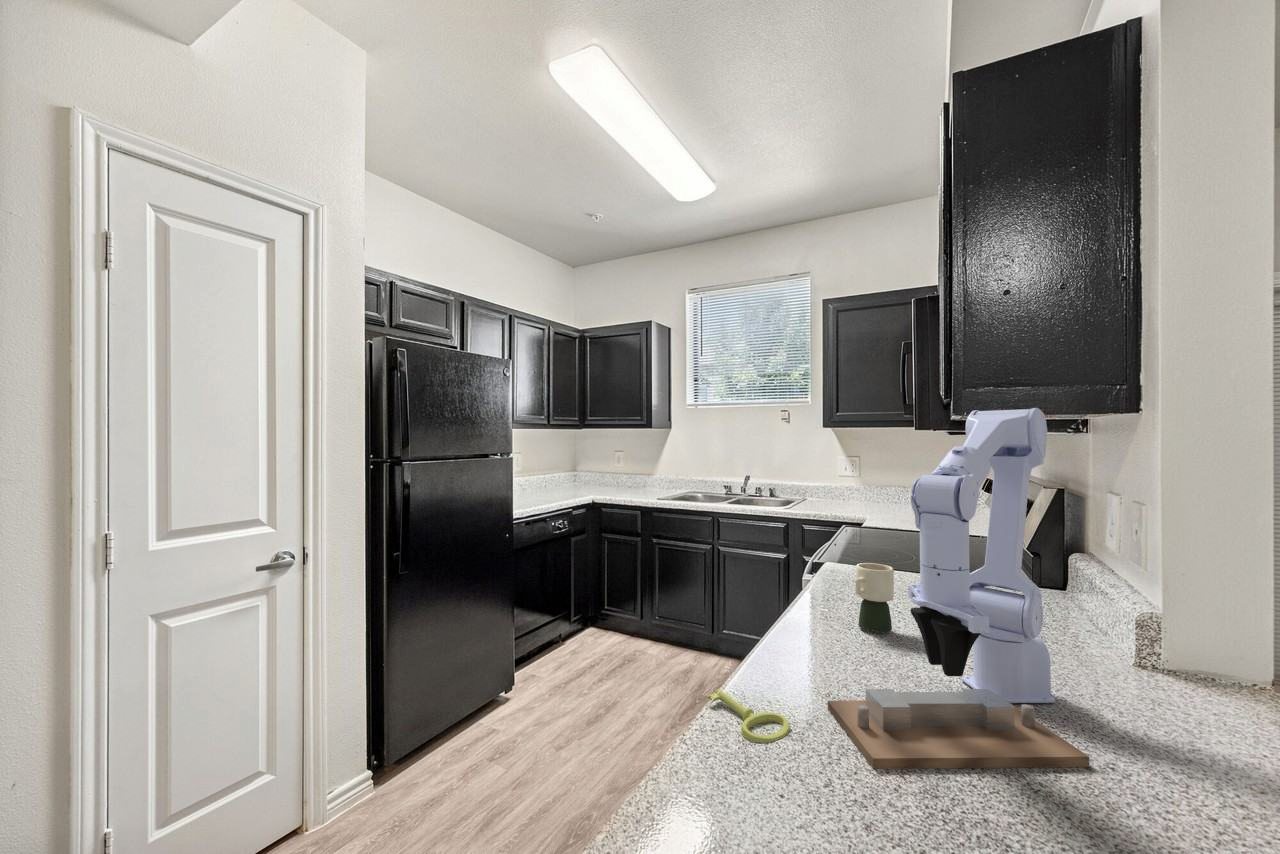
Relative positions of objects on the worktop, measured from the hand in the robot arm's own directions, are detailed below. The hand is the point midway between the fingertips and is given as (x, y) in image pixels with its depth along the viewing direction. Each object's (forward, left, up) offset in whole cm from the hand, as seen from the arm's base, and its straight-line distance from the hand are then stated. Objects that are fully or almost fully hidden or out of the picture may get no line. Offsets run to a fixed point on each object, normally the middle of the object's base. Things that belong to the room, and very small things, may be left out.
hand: (945, 669), depth 70 cm
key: (+25, -4, -9) cm, 27 cm away
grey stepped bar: (0, -1, -7) cm, 7 cm away
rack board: (0, 0, -8) cm, 8 cm away
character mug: (-9, -39, -9) cm, 41 cm away
